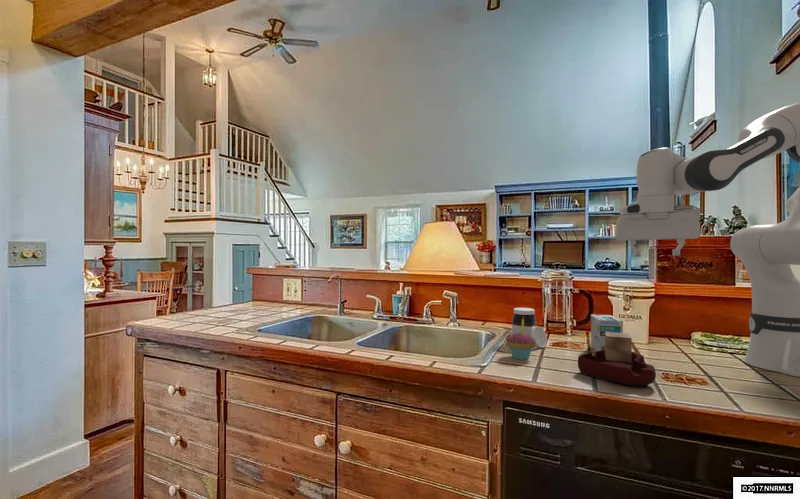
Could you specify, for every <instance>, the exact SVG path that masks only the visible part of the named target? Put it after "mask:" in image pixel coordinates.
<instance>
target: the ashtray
mask: <svg viewBox="0 0 800 499" xmlns="http://www.w3.org/2000/svg"><path fill="white" fill-rule="evenodd" d="M577 367H578V370H579V372H580V373H581V374H583V375H585V376H589V377H591V378H592V377H593V378H597V379H600V380H605V381H610V382H616V383H618V384H619V383H620V384H623V385H629V386H632V387H634V386H635V388H638V389H645V388H646V387H647V386H648V385H650V384H652V383H654V382H655V379H656V378H657V377H656V375H657V374H656V372H657V371H656V369H655V366H654V365H652V364H649V363H646V362H645V358H644V355H643V354H639V353H637V352H635V351H632V362H622V361H612V360H606V357H605V350H600V351H597V352H596V351H595V354H594V355H593V353H592V352H591V351H590V352H587V353H583V354H580V355H578V357H577Z"/></svg>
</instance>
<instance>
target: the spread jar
mask: <svg viewBox="0 0 800 499" xmlns="http://www.w3.org/2000/svg"><path fill="white" fill-rule="evenodd" d="M535 314H536V312H535V309H534V308H531V307H514V308H513V315H512V320H511V335H512V334H515V333H517V334H518V333H519V334H520V333H521V327H522V319H524V332H523V334H526V335H529V336H531V337H533V339H535V343H536V347H535V348H537V349H541V348H545V347H547V344H548V339H547V334H546V331H545V330H544V328H543V327H541V326H537V317H536V316H535ZM523 316H524V318H523Z"/></svg>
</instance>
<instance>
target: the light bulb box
mask: <svg viewBox="0 0 800 499" xmlns="http://www.w3.org/2000/svg"><path fill="white" fill-rule="evenodd" d="M605 332H616V333H624V321H623V320H621V319H619V318H617V317H615V316H613V315H611V314H590V347H591V348H592V349H593V350H594V351H595V353H596V352H597V351H600V350H605Z"/></svg>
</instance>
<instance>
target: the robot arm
mask: <svg viewBox="0 0 800 499" xmlns="http://www.w3.org/2000/svg"><path fill="white" fill-rule="evenodd" d="M737 141H738V142H737V143H736V144H735V145H732V146H730V147H729V148H727V149H716V150H715V149H714V150H709V151H706V152H704V153H703V152H702V153H701V154H698V155H696V156H692V157H684V156H681V155H679V154H678V153H675V152H674V151H672V149H671V148H670V147H660V148H659V147H658V148H655V149H652V150H649V151H647V152H644V153H642V154H641V155H640V156H638V160H637V165H636V185H637V188H638V191H637V195H636V202H635V203H634V202H633V203H630V204H628V205H626V206H622V207H620V209H619V215H620V216H619V217H618V219H617V220H616V223H615V231H614V239H616V241H619V242H621V241H628V245H629V247H630V248H631V249H632V250H633V257H641V255H642V254H641V250H640V249H637V248H636V246H635V245H636V244H637V241H655V240H676V243H677V244H678V245H677V246H676V248H675V249H671V250H672V256H673V257H675V256H676V257H680V256H681V249H683V247H684V245H685V244H686V240H690V239H691V240H693V239H694V240H695V239H698V238H700V237H701V235H702V232H701V231H702V230H701V223H700V219H701V208H699V207H697V206H695V205H694V204H690V205H675V195H679V196H681V195H682V196H686V195H691V194H696V193H703V192H711V191H712V192H713V191H719V190H721V189H724V188H726V187H727V186H729V185H730V184H731V183H732V182H733V181H734V179H735V178H736V177H737V176H738V175H739V174H740V173H741V172H742V171H744V170H745V169H746V168H748V167H750V166H752V165H753V164H755V163H758V162H759V161H761V160H763V159H768V158H770V157H773V156H775V155H778V154H782V153H783V152H785V151H786V153H787V156H789V158H791V159H792V161H795V162H797V163H799V164H800V102H797V103H793V104H790V105H787V106H786V105H785V106H784V107H783V106H782V107H780V108H779V109H776V110H773V111H771V112H768V113H767V114H764V115H763V116H761V117H759V118H757V119H755V120H754V121H752V122H751V123H749V124H748V125H746V126H745V127H744V128H743V129H741V131H739V135H738V140H737ZM785 209H786V211H787V213H788V216H787V218H786V219H784V220H782V221H781V222H779V223H770V224H769V223H768V224H755V225H750V226H747V227H744V228H741V229H738V230H737V231H735V232H734V233H733V235H732V236H731V239H730V242H729V245H730V250H731V251H732V253H733V255H734V256H736V257H737V258H738V259H739V260H740V261H741V262H742V264H743V266H744V268H745V271H746V274H747V276H748V277H749V282H750V285H751V286H750V287H751V312H749V319H748V320H749V322H748V324H749V326H748V328H749V332H750V336H749V337H750V338H749V343H748V348H747V351H746V354H745V356H744V359H743V362H745V363H746V364H748V365H750V366H753V367H756V368H760V369H763V370H767V371H773V372H777V373H782V374H784V375H789V376H793V377H799V378H800V280H799V279H798V277H796V276H795V274H794V273H793V270H792V268H791V265H794V266H800V186H799V187H798V188H797V189H796V190H795V191H794V192H793V193H792V194H791V195H790V197H789V198H787V200H786V202H785Z"/></svg>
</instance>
